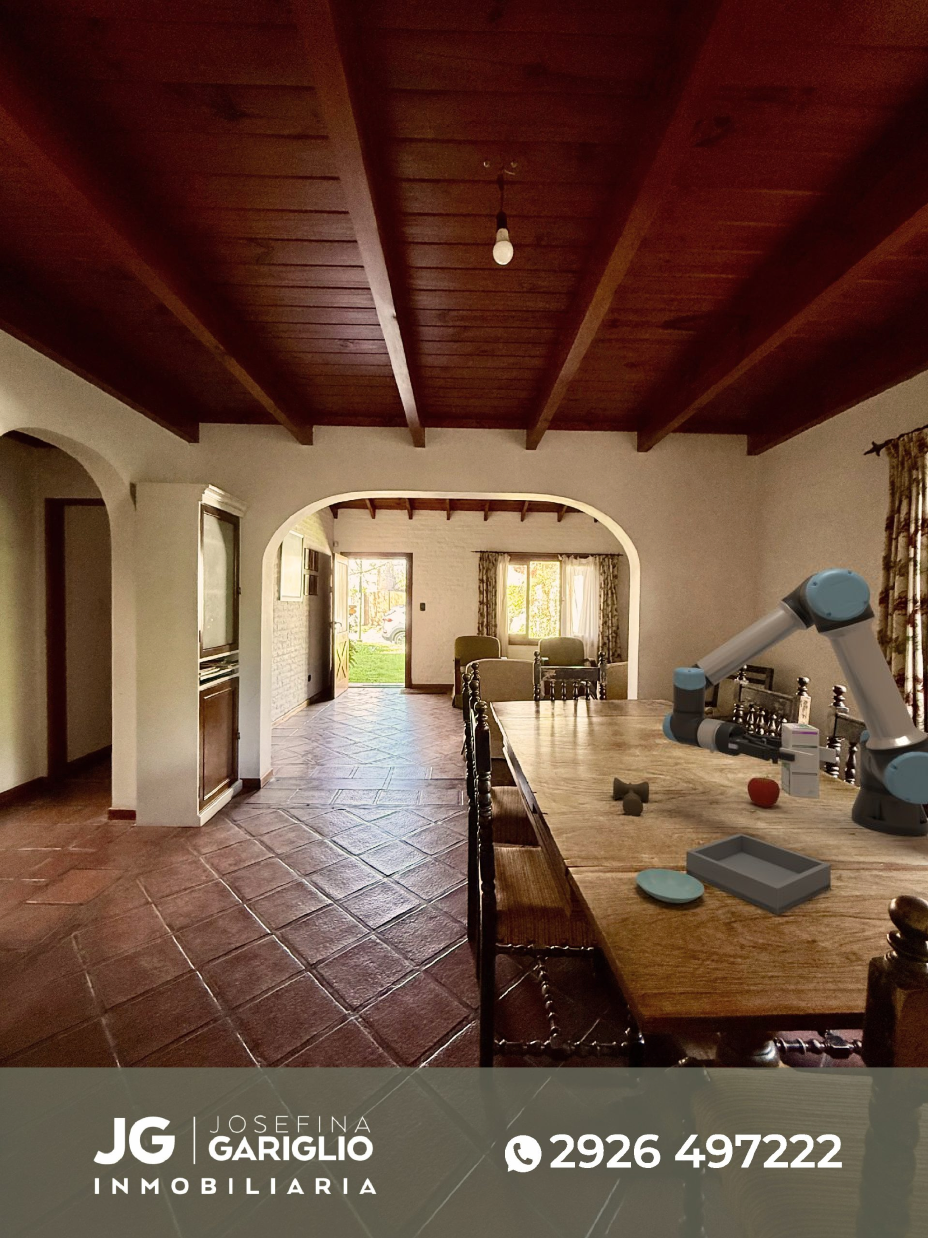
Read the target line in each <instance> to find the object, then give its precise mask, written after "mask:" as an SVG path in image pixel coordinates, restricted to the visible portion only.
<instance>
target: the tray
mask: <svg viewBox="0 0 928 1238" xmlns="http://www.w3.org/2000/svg"><path fill="white" fill-rule="evenodd" d="M685 855H686V857H685V858H686V862H685V864H686V865H685V866H686V871H685V872H686V873H685V874H687V875H689V876H692V877H693V878H695V879H697V880H698V881H701V882H704V883H705V884H708V885H710V886H712V887H714V888H717V889H719V890H721V891H724V892H726V893H727V894H730V895H732V896H734V897H737V898H738V899H741V900H743V901H745V902H748V903H750V904H751V905H755V906H757V907H758V908H761V909H763V910H765V911H767V912H770V913H772V914H774V915H776V916H778V915H780V914H782V913H784V912H787V911H789V910H791V909H793V908H795V907H797V906H799V905H801V904H803V903H804V902H806V901H809V900H811V899H813V898H815V897H817V896H818V895H820V894H822V893H825V892H826V891H829V890H831V888H832V887H831V886H832V885H831V884H832V883H831V882H832V881H831V879H832V872H831V871H832V865H831V864H830V863H828V862H824V861H822V860H819V859H816V858H813V857H810V856H808V855H805V854H801V853H798V852H795V851H794V850H791V849H787V848H784V847H781V846H779V845H775V844H773V843H771V842H768V841H764V840H761V839H758V838H756V837H753V836H750V835H747V834H744V833H741V832H739V833H736V834H733V835H731V836H730V835H729V836H727V837H725V838H721V839H719V840H716V841H713V842H709V843H706V844H703V845H701V846H698V847H695V848H694V847H693V848H691V849H689V850H686V853H685Z"/></svg>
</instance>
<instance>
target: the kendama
mask: <svg viewBox="0 0 928 1238" xmlns="http://www.w3.org/2000/svg"><path fill="white" fill-rule="evenodd" d="M612 783H613V784H612V796H613V797H612V798H613V800H614V799H617V800H619V799H621V798H623V800H622V804H621V806H622V810H623V812H624V814H626V815H628V816H630V815H632V816H631V817H636V816H637V817H638V816H641V814H642V813H643V810H644V804H643V802H645V803H648V801H649V799H650V783H649V782H648V781H647V780H646V781H643V782H640V783H632V782H629V783H626V782H624V781H622V780H621V779H619V778H618V777H614V778H613V782H612Z"/></svg>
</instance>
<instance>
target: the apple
mask: <svg viewBox="0 0 928 1238" xmlns="http://www.w3.org/2000/svg"><path fill="white" fill-rule="evenodd" d="M746 788H747V792H748V796H749V799H750V801H751V802H752V803H753V804H755V806H757V807H761V808H771V807H773V806H774V805H776V804H777V802H778V800H779V798H780V796H781V795H780V793H781V792H780V791H781V790H780V786H779V783H778V782H777V781H775V780H774V779H771V778H768V777H765V776H764V777H752V778H751V779H749V781H748V783H747V787H746Z"/></svg>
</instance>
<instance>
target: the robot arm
mask: <svg viewBox="0 0 928 1238" xmlns="http://www.w3.org/2000/svg"><path fill="white" fill-rule="evenodd" d="M870 600H871V590H870V586H869V584H868V583H867V580H866V579H864V577H862V575H860V574H858V573H856V572H855V571H852V570H850V569H845V568H838V567H837V568H829V569H824V570H822V571H820V572H817V573H814V574H812V575H810V576H808V577H807V578H805V579H804V580H803V581H802V582H801V583H800V584H799V585H798V586H797V587H796V588H794V589H793V590H792V591H791V592H789V594H787V595H785V597H783V598H782V599H780V600H779V601H778V606H777V607H776V608H774V609H772V611H770V612H768V613H767V614H765V615H764V616H763V617H761V618H760V619H758V620H757V621H755V622H754V623H752V624H751V625H749V626H748V627H747V628H745V629H744V630H742V631H741V632H739V633H737V635H735V636H733V637H732V638H730V639H729V640H728V641H726V642H725V643H724V644H722V645H720V646H719V647H717V648H716V649H714V650H712V651H711V652H710V653H708V654H707V655H706V656H704V657H703V658H701V659H700V660H698V661H697V662H696V663H695V664H693V665H691V666H690V667H677V668H675V669H674V670H673V677H672V686H673V689H672V690H673V691H672V695H673V696H672V697H673V699H672V700H673V702H672V703H673V707H672V711H671V712H669V713H667V714H666V715H665V717H664V718H663V720H664V721H663V722H662V727H661V728H662V733H663V735H664V736H665V737H666V739H668V740H669V741H672V742H676V743H679V744H680V745H685V746H686V745H687V746H691V747H695V748H700V749H704V750H709V752H710V754H714V753H715V752H717V753H720V754H723V755H728V756H732V757H737V756H740V755H745V756H748V757H752V758H754V759H755V758H756V759H759V760H761V761H762V760H763V761H765V762H770V761H771V764H773V765H778V764H779V762H781V763H782V762H786V763H790V764H795V765H799V766H803V767H808V768H814V754H809V753H804V752H800V751H795V750H790V749H785V748H782V737H781V736H780V737H778V736H774V735H768V734H765V733H762V734H757V733H751V732H749V733H747V732H746V729H745V728H744V727H743V725H741V724H739V723H734V722H729V721H723V720H720V719H713V718H708V717H705V712H706V710H705V705H706V704H705V703H706V692H707V691H709V690H710V689H711V688H713V687H714V686H716V685H718V684H719V683H720V682H722V681H724V680H725V679H727V678H728V677H730V676H731V675H732V674H734V673H735V672H737V671H739V670H740V669H742V668H744V667H745V666H746V665H748V664H749V663H750V662H752V661H754V660H755V659H757V658H758V657H760V656H761V655H763V654H764V653H766V652H767V651H769V650H771V649H772V648H773V647H775V646H776V645H778V644H780V643H781V642H783V641H785V640H786V639H787V638H789V637H790V636H792V635H793V634H795V633H796V632H798V631H807V630H808V629H809V628H811V627H813V626H814V627H815V628H816V632H817V633H818V635H820V636H823V637H825V638H827V639H828V641H829V642H830V645H831V647H832V650H833V653H834V654H835V656H836V659H837V662H838V664H839V666H840V669H841V670H842V673H843V676H844V678H845V680H846V683H847V685H848V688H849V690H850V692H851V695H852V697H853V699H854V701H855V703H856V706H857V708H858V710H859V711H858V712H859V713H860V715H861V719H862V720H863V723H864V724H865V727H866V729H864V730H862V732H861V734H860V740H859V749H860V751H859V753H860V755H859V761H860V762H859V764H860V765H859V771H860V772H859V774H860V775H859V782H860V783H859V790H858V793H857V796H856V798H855V800H854V803H853V805H852V807H851V820H852V821H853V822H855V823H856V824H858V825H860V826H862V827H865V828H867V829H870V830H874V831H876V832H877V831H878V832H881V833H886V834H892V835H899V836H907V837H911V836H912V837H919V835H921V836H925V835H928V817H927V815H926V812H925V809H924V807H923V805H927V804H928V733H927V732H926V731H923V730H922V729H919V728H917V727H916V726H915V724H914V722H913V719H912V717H911V714H910V713H909V709H908V708H907V706H906V704H905V701H904V699H903V697H902V695H901V692H900V690H899V687H898V685H897V683H896V679H895V678H894V676H893V673H892V672H891V669H890V667H889V664H888V662H887V660H886V658H885V656H884V652H883V651H882V649H881V646H880V644H879V642H878V639H877V637H876V635H875V633H874V631H873V628H872V625H873V623H874V621H875V619H876V614H875V612H874V609H873V607H872V606H871V602H870ZM819 761H823V762H827V763H832V764H836V763H837V749H835V748H834V749H833V748H829V747H824V746H820V745H819Z"/></svg>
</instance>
